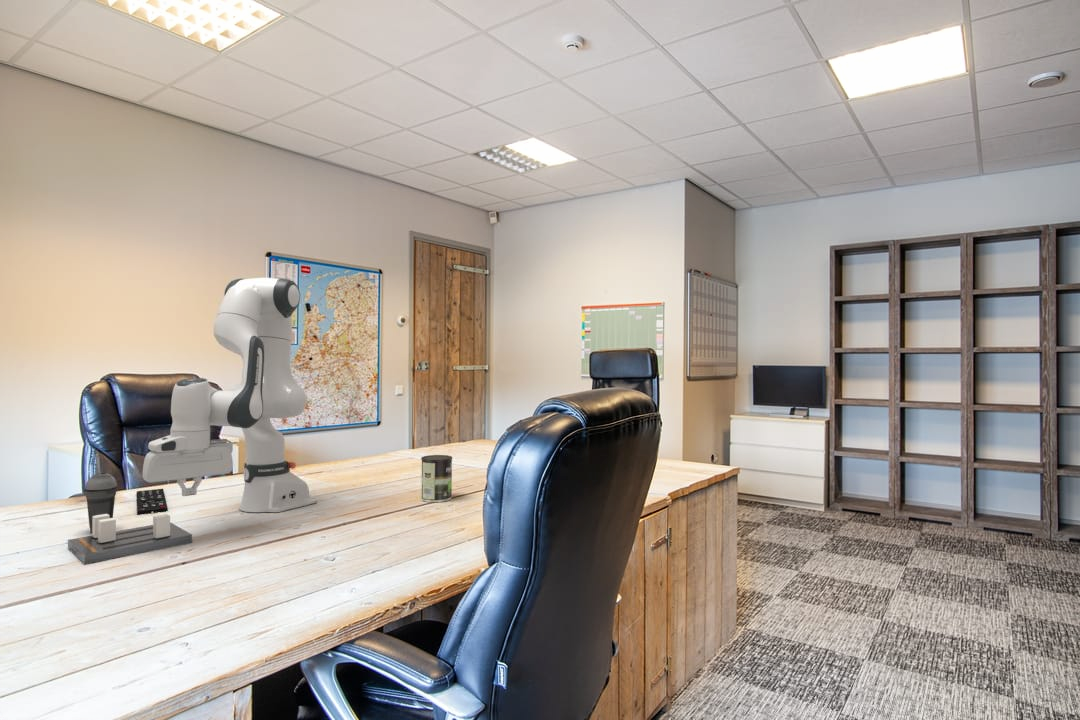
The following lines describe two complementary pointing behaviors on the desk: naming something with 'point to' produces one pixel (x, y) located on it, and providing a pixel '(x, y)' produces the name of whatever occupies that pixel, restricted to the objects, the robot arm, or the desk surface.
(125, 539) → the grey slider panel
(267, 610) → the desk surface
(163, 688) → the desk surface
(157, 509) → the remote control
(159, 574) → the desk surface
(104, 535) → the block
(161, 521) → the block
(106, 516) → the block
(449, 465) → the coffee can
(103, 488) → the beverage cup
